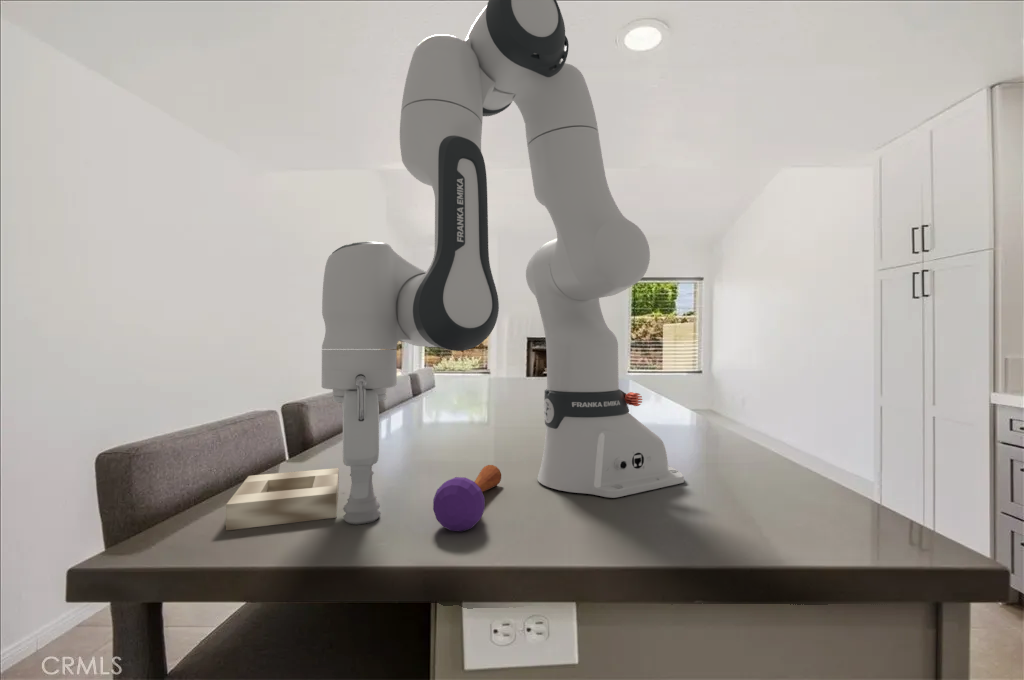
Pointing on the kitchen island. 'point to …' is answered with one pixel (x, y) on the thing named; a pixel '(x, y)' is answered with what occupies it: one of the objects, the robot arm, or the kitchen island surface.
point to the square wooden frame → (284, 499)
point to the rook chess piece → (362, 506)
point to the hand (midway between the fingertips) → (359, 485)
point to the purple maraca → (464, 499)
